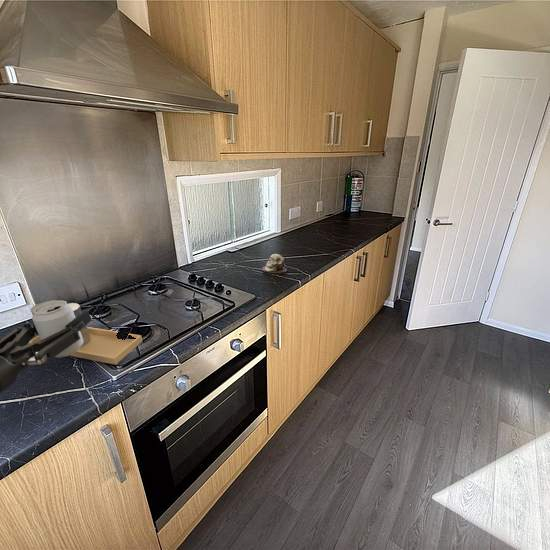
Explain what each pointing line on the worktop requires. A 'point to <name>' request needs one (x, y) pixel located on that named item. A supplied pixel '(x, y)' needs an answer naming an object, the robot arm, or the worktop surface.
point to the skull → (275, 264)
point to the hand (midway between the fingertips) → (73, 315)
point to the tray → (104, 346)
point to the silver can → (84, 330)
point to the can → (55, 322)
